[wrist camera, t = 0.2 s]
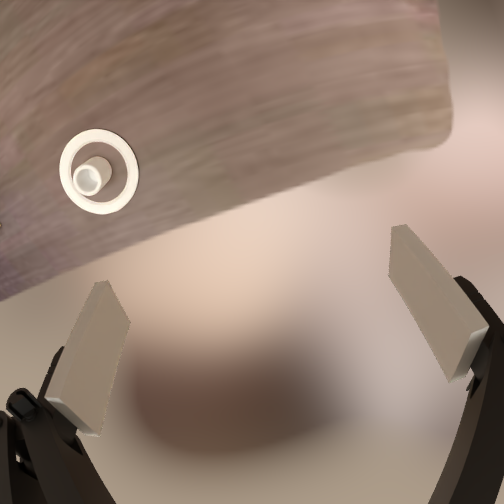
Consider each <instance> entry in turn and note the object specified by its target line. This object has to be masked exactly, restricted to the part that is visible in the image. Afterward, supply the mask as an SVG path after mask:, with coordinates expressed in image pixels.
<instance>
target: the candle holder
mask: <svg viewBox="0 0 504 504" xmlns="http://www.w3.org/2000/svg"><path fill="white" fill-rule="evenodd" d="M91 142H104V143H107V144H110V145H111V146H113V147H114V148H116V149H117V150H118V151H119V152H120V153H121V155H122V156H123V158H124V160H125V162H126V165H127V171H128V178H127V183H126V186H125V188H124V190H123V191H122V193H121V194H120V195H119V196H118V197H117V198H115V199H113V200H111V201H109V202H104V203H99V202H93V201H91V200H88V199H87V198H85V197H84V196H82V195H81V194H83V195H86V196H91V195H94V194H96V193H97V192H98V191H99V190H100V189H101V188H102V187H103V186H104V185H105V184H106V183H107V182H108V181H109V180H110V178H111V174H112V169H111V166H110V164H109V162H108V161H107V160H106V159H105V158H103V157H99V156H95V157H92V158H90V159H89V160H87V161H86V162H84V163H83V164H82V165H80V166H79V167H78V168H77V169H76V170H75V172H74V175H73V181H72V177H71V164H72V160H73V158H74V156H75V154H76V152H77V151H78V150H79V149H80V148H81V147H82V146H84V145H86V144H88V143H91ZM60 178H61V182H62V185H63V188H64V190H65V192H66V193H67V195H68V196H69V198H70V199H71V200H72V201H73V202H74V203H75V204H76V205H78V206H79V207H80V208H82V209H84V210H86V211H89V212H92V213H97V214H108V213H112V212H116V211H118V210H120V209H121V208H122V207H123V206H125V205H126V204H127V203H128V202H129V200H130V199H131V198H132V196H133V194H134V192H135V190H136V187H137V183H138V165H137V161H136V158H135V156H134V153H133V151H132V150H131V148H130V147H129V145H128V144H127V143H126V142H125V141H124V140H123V139H122V138H121V137H119V136H118V135H116V134H114V133H112V132H110V131H107V130H102V129H91V130H87V131H84V132H81V133H79V134H78V135H76V136H75V137H74V138H72V139H71V140H70V142H69V143H68V144H67V145H66V147H65V149H64V151H63V153H62V156H61V160H60ZM79 192H80V193H81V194H80V193H79Z"/></svg>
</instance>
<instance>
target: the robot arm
mask: <svg viewBox="0 0 504 504" xmlns="http://www.w3.org/2000/svg"><path fill="white" fill-rule="evenodd" d="M390 249H391V250H390V263H389V278H390V279H391V281H392V283H393V284H394V286H395V287H396V289H397V291H398V292H399V294H400V296H401V297H402V299H403V300H404V302H405V304H406V306H407V307H408V309H409V311H410V312H411V314H412V316H413V317H414V319H415V321H416V322H417V324H418V326H419V328H420V330H421V331H422V333H423V335H424V337H425V339H426V340H427V342H428V344H429V346H430V348H431V350H432V351H433V353H434V355H435V357H436V359H437V361H438V363H439V364H440V366H441V368H442V370H443V372H444V374H445V376H446V378H447V380H448V382H449V383H451V382H454V381H457V380H459V379H461V378H464V377H466V375H467V373H468V371H469V369H470V367H471V369H472V371H473V372H474V376H473V378H472V380H471V381H470V383H469V385H468V387H467V389H466V391H468V390H469V389H470V390H469V393H468V397H467V401H466V405H465V408H464V412H463V415H462V418H461V422H460V425H459V428H458V431H457V434H456V437H455V440H454V443H453V446H452V449H451V451H450V454H449V457H448V459H447V462H446V464H445V467H444V469H443V472H442V474H441V476H440V479H439V481H438V483H437V485H436V488H435V490H434V492H433V494H432V496H431V499H430V501H429V503H428V504H495V501H496V498H497V495H498V492H499V489H500V486H501V483H502V480H503V476H504V324H503V323H502V321H501V320H500V318H498V316H497V314H496V313H495V312H494V311H493V309H492V308H491V307H490V305H489V304H488V303H487V302H486V300H484V298H483V296H482V295H481V294H480V293H478V290H477V289H476V288H475V287H474V285H473V284H472V283H471V282H470V281H468V280H467V279H465V278H463V277H462V276H458V277H455V278H452V276H451V275H450V274H449V273H448V272H447V270H446V269H445V268H444V267H443V265H442V264H441V263H440V262H439V261H438V259H437V258H436V257H435V256H434V255H433V254H432V252H431V251H430V250H429V249H428V248H427V247H426V246H425V245H424V243H423V242H422V241H421V240H420V239H419V238H418V237H417V235H416V234H415V233H414V232H413V231H412V230H411V229H410V228H409V227H408V226H407V225H406V224H405V225H400V226H395V227H392V229H391V248H390ZM130 323H131V322H130V320H129V318H128V317H127V315H126V313H125V311H124V309H123V307H122V306H121V304H120V302H119V300H118V298H117V296H116V295H115V293H114V291H113V289H112V287H111V285H110V283H109V281H108V280H107V281H102V282H96V283H95V284H94V286H93V289H92V290H91V292H90V294H89V296H88V298H87V300H86V302H85V304H84V306H83V308H82V310H81V312H80V314H79V317H78V318H77V321H76V323H75V325H74V327H73V329H72V331H71V334H70V336H69V338H68V340H67V343H66V345H65V346H64V347H63V346H62V347H61V348H60V349H59V351H58V352H57V353H56V354H55V356H54V358H53V360H52V363H51V367H49V370H48V372H47V373H48V374H47V375H46V377H45V380H44V382H43V384H42V387H41V389H40V392H39V395H38V398H37V399H36V398H35V397H34V396H33V395H32V394H31V393H30V392H29V391H28V390H27V389H25V388H19V389H17V390H15V391H14V392H13V393H12V394H11V395H10V397H9V398H8V400H7V403H6V409H7V410H8V411H9V412H10V413H11V414H12V415H13V417H10V416H8V415H7V414H6V413H5V412H4V411H0V504H116V503H115V501H114V499H113V498H112V496H111V495H110V493H109V492H108V490H107V488H106V487H105V485H104V483H103V481H102V480H101V478H100V476H99V475H98V473H97V471H96V469H95V467H94V466H93V464H92V462H91V460H90V458H89V456H88V454H87V453H86V451H85V449H84V447H83V445H82V443H81V441H80V439H79V438H78V436H77V435H76V431H77V429H79V430H80V431H81V432H82V433H83V434H85V435H89V436H100V435H101V430H102V426H103V422H104V418H105V414H106V409H107V405H108V401H109V397H110V393H111V389H112V386H113V382H114V378H115V374H116V371H117V367H118V363H119V360H120V357H121V353H122V349H123V346H124V343H125V339H126V336H127V333H128V330H129V326H130ZM16 455H18V456H19V457H20V462H18V461H16Z"/></svg>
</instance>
